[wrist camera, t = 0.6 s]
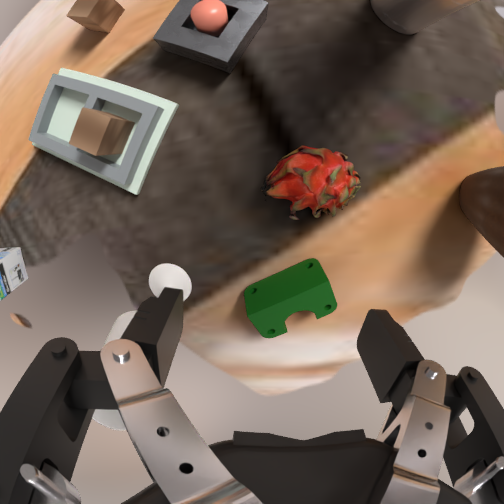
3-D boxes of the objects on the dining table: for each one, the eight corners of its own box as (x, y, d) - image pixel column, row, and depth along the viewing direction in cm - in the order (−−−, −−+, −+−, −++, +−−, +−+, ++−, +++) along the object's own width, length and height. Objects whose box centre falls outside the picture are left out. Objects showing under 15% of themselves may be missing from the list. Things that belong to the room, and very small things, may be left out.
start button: (206, 9, 24) (201, -5, 20) (234, 18, 24) (232, 4, 21) (190, 32, 25) (184, 19, 21) (218, 41, 26) (215, 28, 22)
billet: (109, 112, 30) (82, 107, 23) (135, 122, 30) (111, 117, 24) (97, 143, 31) (68, 143, 24) (122, 153, 32) (95, 155, 25)
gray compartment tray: (64, 68, 27) (52, 64, 24) (179, 105, 31) (172, 100, 27) (35, 144, 31) (22, 145, 28) (139, 193, 35) (128, 198, 31)
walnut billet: (104, 7, 24) (83, -10, 17) (124, 9, 24) (105, -9, 18) (89, 29, 25) (66, 15, 18) (109, 32, 26) (86, 17, 19)
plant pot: (467, 253, 38) (525, 292, 23) (428, 201, 35) (501, 231, 20) (503, 193, 34) (562, 215, 19) (468, 135, 31) (540, 141, 16)
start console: (201, -2, 25) (195, -19, 20) (266, 19, 26) (268, 2, 22) (164, 50, 28) (152, 38, 23) (230, 74, 29) (227, 62, 25)
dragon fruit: (351, 179, 36) (266, 185, 38) (355, 128, 29) (256, 135, 31) (364, 227, 31) (265, 234, 33) (375, 175, 24) (253, 182, 26)
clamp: (268, 293, 45) (254, 340, 39) (252, 268, 42) (235, 316, 35) (340, 284, 39) (337, 336, 33) (330, 254, 36) (326, 309, 30)
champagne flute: (140, 273, 39) (56, 390, 16) (177, 256, 38) (103, 381, 15) (163, 309, 41) (106, 437, 18) (199, 294, 40) (159, 434, 17)
